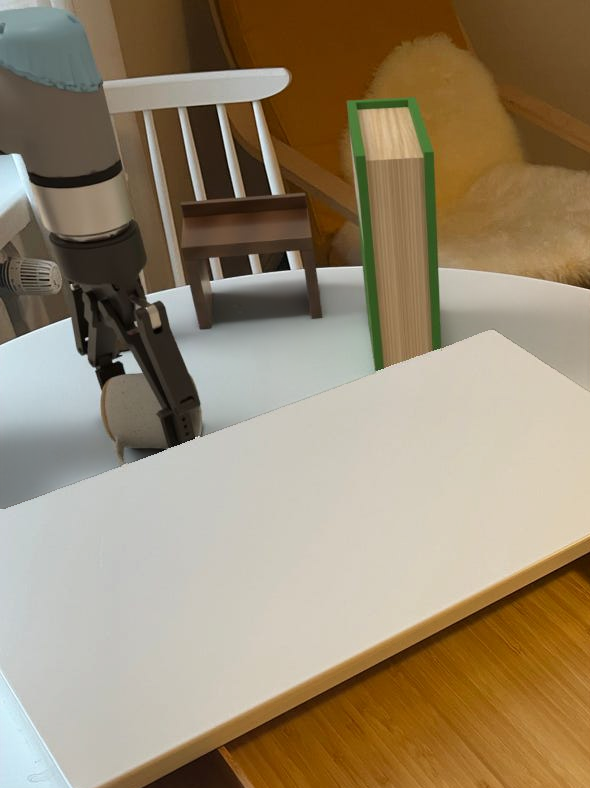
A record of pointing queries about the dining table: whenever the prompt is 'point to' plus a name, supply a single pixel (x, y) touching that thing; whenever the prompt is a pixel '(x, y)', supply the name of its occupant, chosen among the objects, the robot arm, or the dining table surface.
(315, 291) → the wooden step stool
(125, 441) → the ceramic mug
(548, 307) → the dining table surface
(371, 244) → the hardback book
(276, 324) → the dining table surface
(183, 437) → the robot arm
